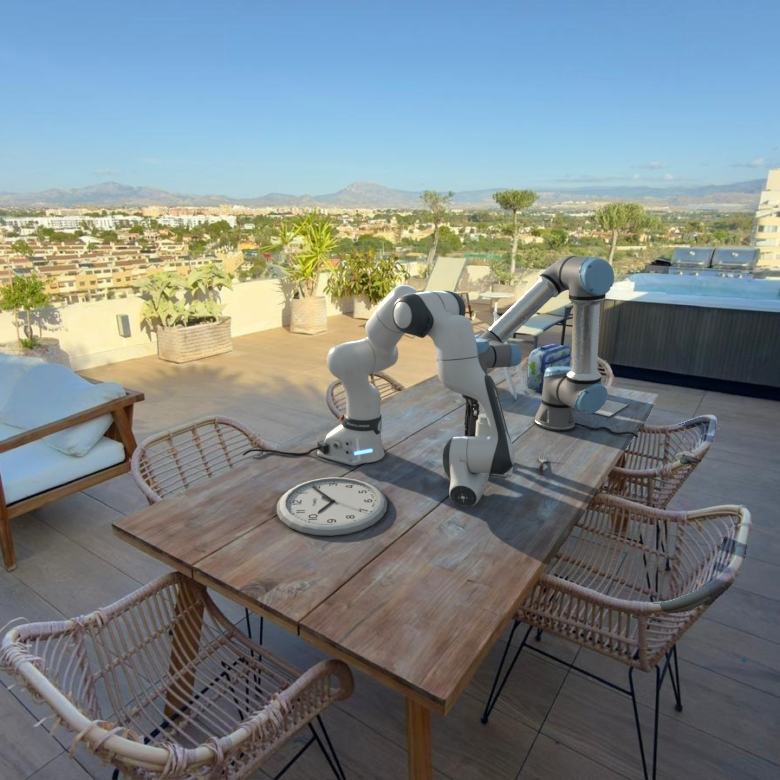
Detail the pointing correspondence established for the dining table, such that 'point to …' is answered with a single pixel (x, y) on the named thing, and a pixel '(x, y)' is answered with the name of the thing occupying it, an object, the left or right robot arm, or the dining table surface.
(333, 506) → the wall clock
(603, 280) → the right robot arm
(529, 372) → the lunch box
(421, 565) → the dining table surface
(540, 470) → the fork
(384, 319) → the left robot arm
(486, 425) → the white plastic cylinder
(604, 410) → the invitation card
